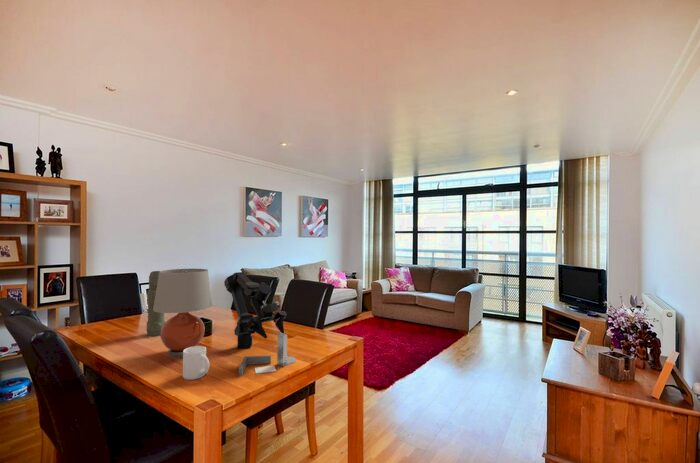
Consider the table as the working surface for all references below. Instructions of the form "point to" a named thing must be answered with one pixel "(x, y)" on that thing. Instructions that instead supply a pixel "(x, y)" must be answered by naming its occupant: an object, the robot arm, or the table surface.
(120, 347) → the table surface
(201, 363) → the mug
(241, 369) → the corner wall
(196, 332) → the lamp
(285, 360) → the bracket
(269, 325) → the table surface
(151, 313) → the thermos
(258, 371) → the plate
